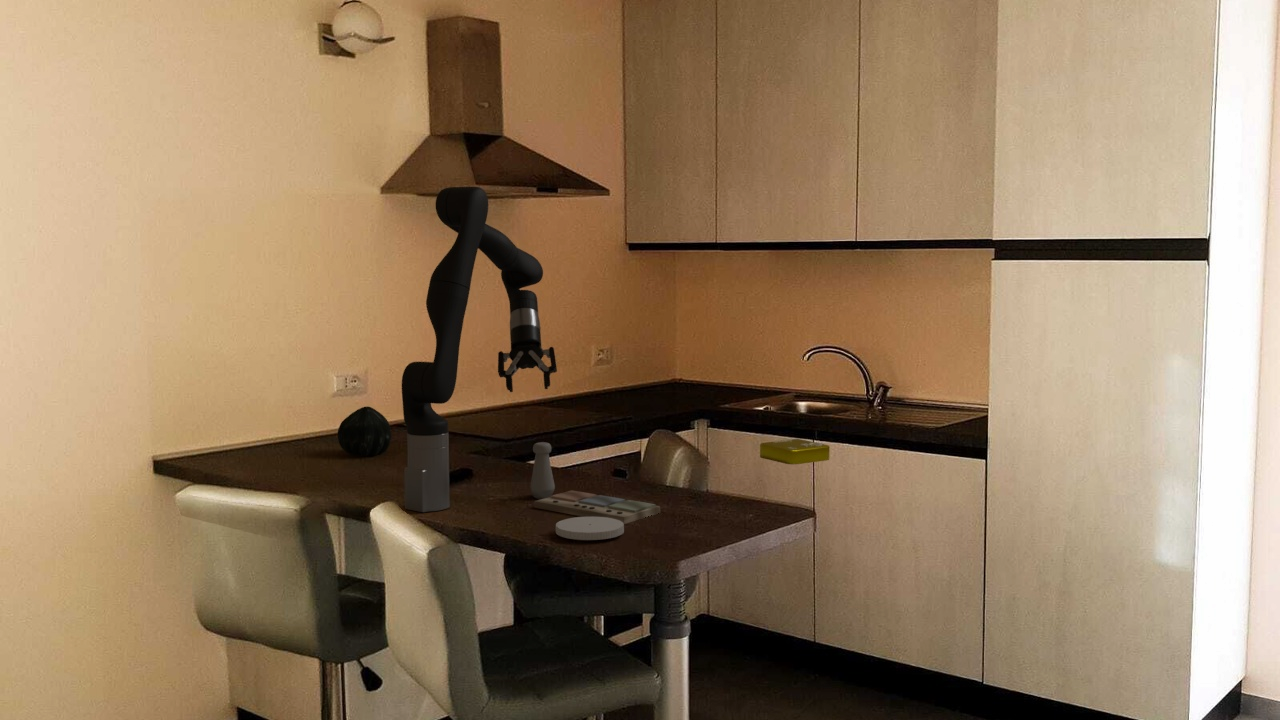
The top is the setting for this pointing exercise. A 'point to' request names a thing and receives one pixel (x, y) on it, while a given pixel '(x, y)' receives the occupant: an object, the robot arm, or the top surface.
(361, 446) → the squash
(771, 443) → the yellow flat block
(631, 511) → the board
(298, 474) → the top surface
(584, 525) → the plastic lid
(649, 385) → the top surface
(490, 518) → the top surface
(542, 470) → the salt shaker
